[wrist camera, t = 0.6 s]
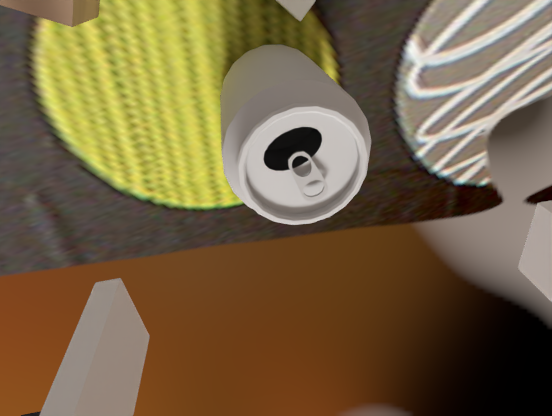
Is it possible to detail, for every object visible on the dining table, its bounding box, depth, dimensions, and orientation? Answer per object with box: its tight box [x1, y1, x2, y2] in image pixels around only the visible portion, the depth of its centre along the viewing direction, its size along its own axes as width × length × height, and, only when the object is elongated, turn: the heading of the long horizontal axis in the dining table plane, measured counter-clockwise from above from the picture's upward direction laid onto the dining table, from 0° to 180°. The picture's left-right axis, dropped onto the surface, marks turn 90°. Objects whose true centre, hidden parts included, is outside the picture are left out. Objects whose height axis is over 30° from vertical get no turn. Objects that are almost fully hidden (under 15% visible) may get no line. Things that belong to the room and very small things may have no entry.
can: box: [220, 44, 371, 225], centre depth 22 cm, size 8×8×12 cm
